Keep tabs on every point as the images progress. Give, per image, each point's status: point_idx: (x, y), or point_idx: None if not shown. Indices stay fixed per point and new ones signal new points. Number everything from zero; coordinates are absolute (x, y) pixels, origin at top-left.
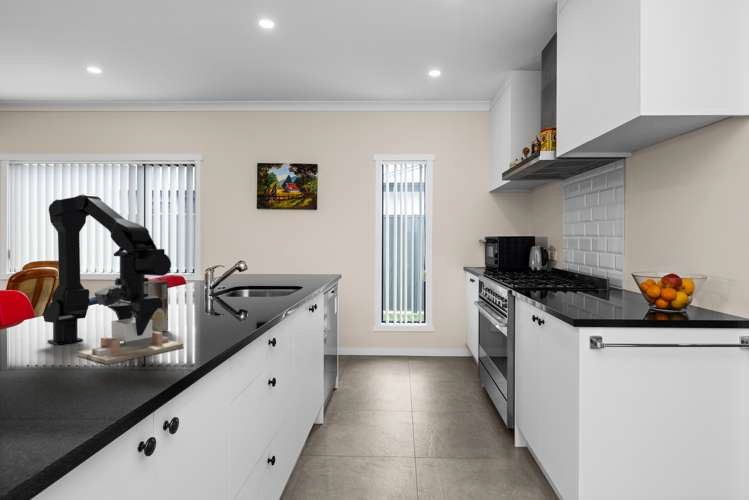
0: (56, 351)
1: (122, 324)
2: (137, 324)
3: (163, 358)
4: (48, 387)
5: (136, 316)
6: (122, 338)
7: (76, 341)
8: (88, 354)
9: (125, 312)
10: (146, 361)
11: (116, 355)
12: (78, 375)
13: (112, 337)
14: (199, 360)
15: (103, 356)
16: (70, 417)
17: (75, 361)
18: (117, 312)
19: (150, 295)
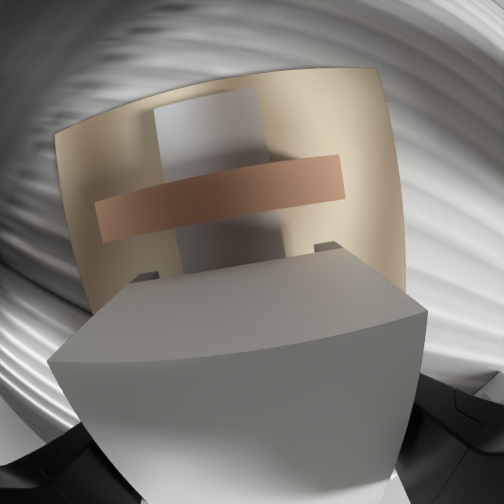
0: (481, 74)
1: (113, 354)
2: (73, 431)
3: (44, 347)
4: (8, 4)
5: (18, 474)
6: (162, 284)
7: None
8: (252, 78)
9: (442, 494)
10: (29, 286)
11: (106, 196)
12: (25, 47)
13: (333, 252)
14: (3, 385)
15: (134, 132)
16: None
17: (238, 32)
18: (496, 443)
19: None
